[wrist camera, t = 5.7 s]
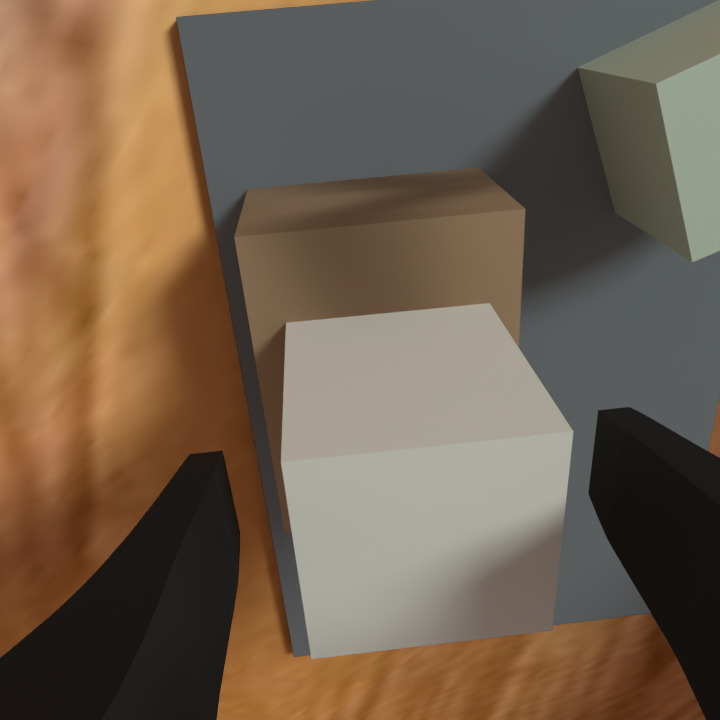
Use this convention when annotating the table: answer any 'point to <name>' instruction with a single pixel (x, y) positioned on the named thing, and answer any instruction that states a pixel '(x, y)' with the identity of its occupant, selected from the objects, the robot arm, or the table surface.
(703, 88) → the sage block
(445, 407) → the cream cube
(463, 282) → the walnut block
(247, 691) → the table surface
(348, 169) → the mat
